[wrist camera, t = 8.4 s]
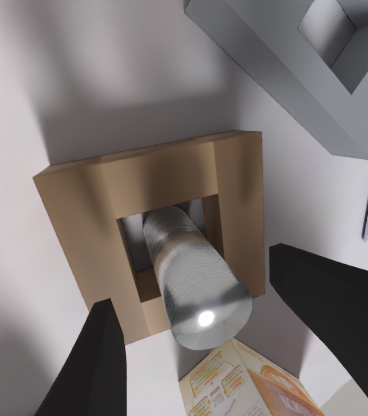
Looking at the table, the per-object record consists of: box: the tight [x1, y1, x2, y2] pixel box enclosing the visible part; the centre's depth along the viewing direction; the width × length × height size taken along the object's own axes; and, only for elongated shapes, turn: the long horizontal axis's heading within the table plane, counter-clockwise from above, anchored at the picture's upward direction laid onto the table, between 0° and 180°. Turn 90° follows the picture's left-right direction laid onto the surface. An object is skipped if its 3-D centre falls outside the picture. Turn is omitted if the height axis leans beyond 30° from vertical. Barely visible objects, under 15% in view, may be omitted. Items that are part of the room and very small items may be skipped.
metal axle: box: [143, 205, 252, 350], centre depth 12 cm, size 3×3×8 cm
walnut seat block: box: [33, 130, 265, 345], centre depth 14 cm, size 11×11×3 cm
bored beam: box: [184, 0, 368, 160], centre depth 13 cm, size 14×8×3 cm, turn 57°
